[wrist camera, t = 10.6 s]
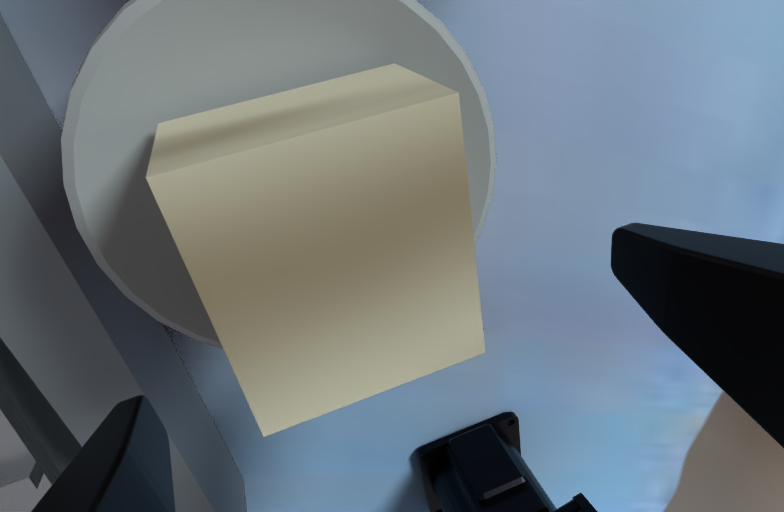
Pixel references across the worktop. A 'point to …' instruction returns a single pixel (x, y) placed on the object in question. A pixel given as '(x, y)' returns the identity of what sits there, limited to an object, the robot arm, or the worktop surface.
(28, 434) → the ejector lever
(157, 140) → the beige block
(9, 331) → the pocket board
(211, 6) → the canned food
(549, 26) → the worktop surface
